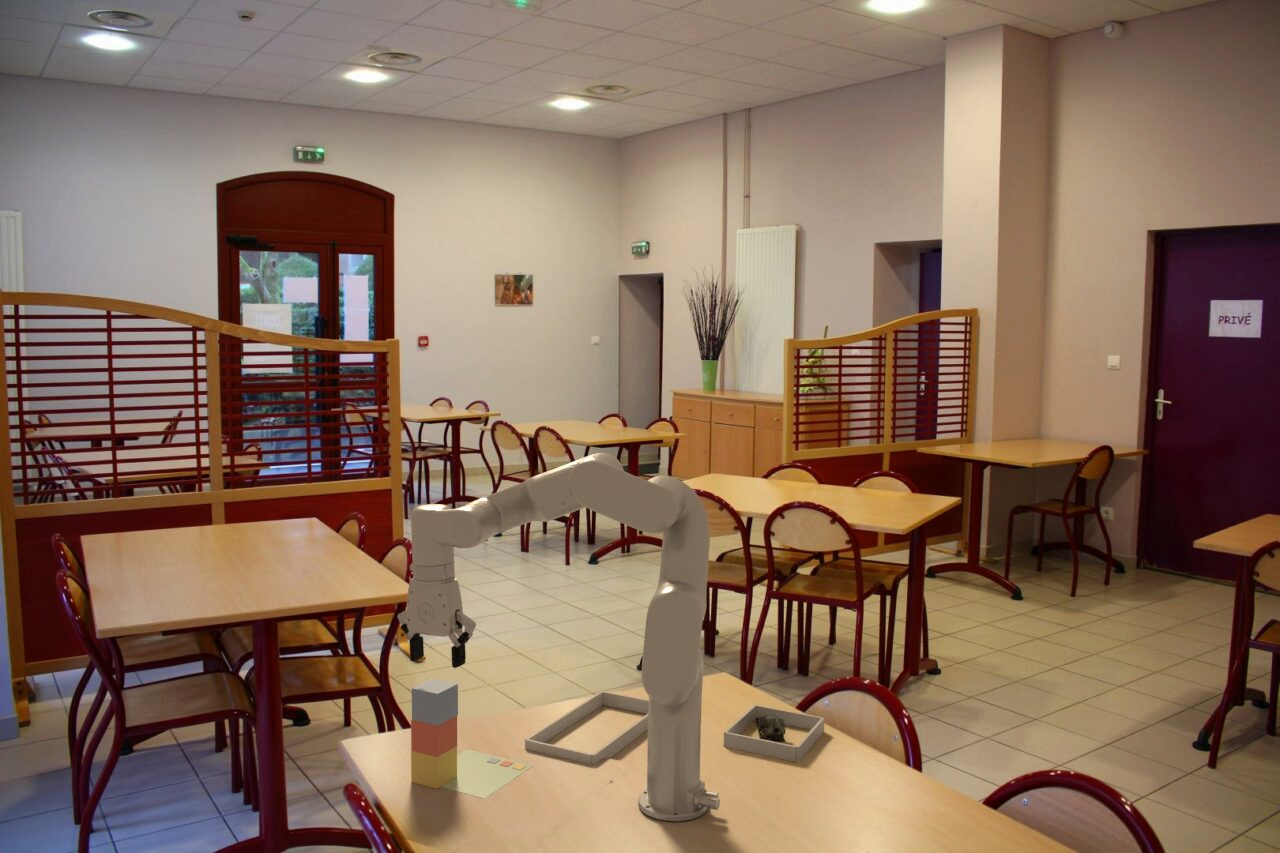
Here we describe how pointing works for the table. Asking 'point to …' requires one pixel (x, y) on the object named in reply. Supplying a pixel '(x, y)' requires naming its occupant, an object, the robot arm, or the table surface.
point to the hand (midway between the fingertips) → (437, 662)
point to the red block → (433, 737)
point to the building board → (483, 773)
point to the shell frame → (770, 747)
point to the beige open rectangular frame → (571, 717)
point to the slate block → (434, 701)
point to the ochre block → (433, 768)
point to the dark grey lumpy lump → (771, 728)
